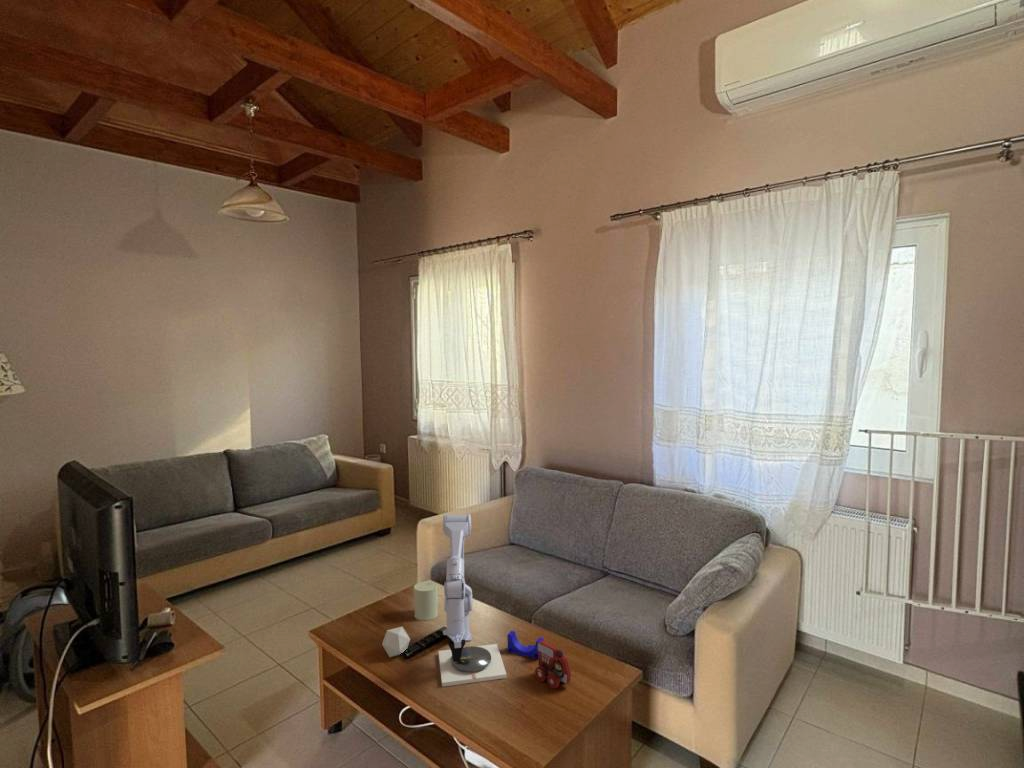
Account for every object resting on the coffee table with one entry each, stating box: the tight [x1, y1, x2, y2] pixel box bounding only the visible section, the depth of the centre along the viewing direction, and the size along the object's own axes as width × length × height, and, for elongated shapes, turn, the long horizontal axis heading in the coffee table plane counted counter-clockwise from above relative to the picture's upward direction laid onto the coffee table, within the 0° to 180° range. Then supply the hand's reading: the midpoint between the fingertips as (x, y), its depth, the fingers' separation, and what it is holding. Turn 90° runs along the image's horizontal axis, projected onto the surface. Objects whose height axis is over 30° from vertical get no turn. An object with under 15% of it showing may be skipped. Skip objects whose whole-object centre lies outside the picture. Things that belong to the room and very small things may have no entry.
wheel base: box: [438, 643, 508, 688], centre depth 172 cm, size 18×20×2 cm
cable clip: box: [506, 630, 545, 660], centre depth 180 cm, size 12×4×6 cm, turn 64°
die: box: [381, 626, 411, 658], centre depth 180 cm, size 8×9×10 cm
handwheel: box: [451, 645, 491, 672], centre depth 172 cm, size 13×13×4 cm
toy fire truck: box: [534, 641, 572, 690], centre depth 164 cm, size 7×12×10 cm, turn 44°
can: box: [413, 580, 439, 621], centre depth 207 cm, size 9×9×12 cm
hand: (456, 658), depth 171 cm, fingers open, 3 cm apart
